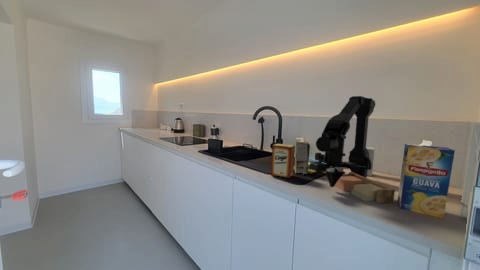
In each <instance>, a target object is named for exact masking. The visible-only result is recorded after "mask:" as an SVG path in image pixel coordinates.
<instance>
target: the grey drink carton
mask: <svg viewBox="0 0 480 270" xmlns="http://www.w3.org/2000/svg"><path fill="white" fill-rule="evenodd" d="M310 149H311V144H310V143H308V142H306V141H296V142H295V154H294V167H295V170H294V173H295V174H296V173H303V174H302V175H304V174H307V173H309V172H308V171H309V160H310V159H309V158H310ZM307 175H308V174H307Z"/></svg>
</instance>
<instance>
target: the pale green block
mask: <svg viewBox="0 0 480 270" xmlns="http://www.w3.org/2000/svg"><path fill="white" fill-rule="evenodd" d="M377 189H382V188H379V187H377V186H374V185H372V184H359V185H354V188H353V189H352V191H351V193H350V194H351V195H352V196H354V197H356V198H358V199H359V200H361V201H363V202H374V201H375V202H376V198H377Z"/></svg>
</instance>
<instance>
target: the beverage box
mask: <svg viewBox="0 0 480 270" xmlns="http://www.w3.org/2000/svg"><path fill="white" fill-rule="evenodd" d="M403 150H404V151H403V158H402V165H401V171H400V179H399V188H398V194H397V200H396V201H397V204H398V207H399V209H400V210H405V211H410V212H414V213H418V214H421V215H427V216H431V217H435V218H440V219H443V218H445V212H446V208H447V207H446V206H447V199H448V194H449V189H450V183H451V177H452V176H451V175H452V170H453V165H454V164H453V163H454V157H455V151H456V150H454V149H452V148H449V147H447V146H446V147H445V146H434V145H432V146H424V145H419V144H412V143H411V144H410V143H404V149H403Z"/></svg>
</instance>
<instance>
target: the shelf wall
mask: <svg viewBox="0 0 480 270" xmlns="http://www.w3.org/2000/svg"><path fill="white" fill-rule="evenodd" d="M348 174H354V177H356V178H358V179H361V180H363V183H362V184H372V185H374V186H377V187H379V188H382V189H377V198H376V201H375V203H376V204H390V203H391V204H392V203H394V198H395V192H396V191H395V188H392V187H390V186H387V185H385V184H383V183H379V182H378V181H375V180H374V179H373V180H372V179H370V178H368V177H367V178H365V177H363V176H360V175H358V174H355V173H353V172H351V171H349V172H348Z"/></svg>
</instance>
